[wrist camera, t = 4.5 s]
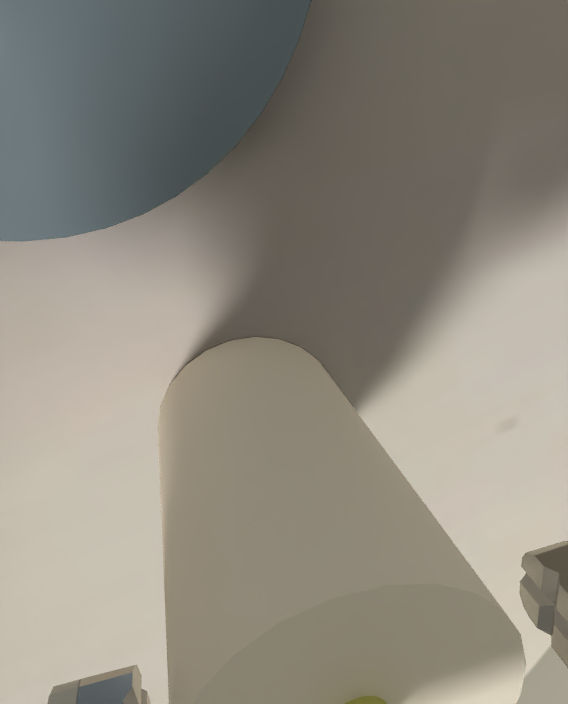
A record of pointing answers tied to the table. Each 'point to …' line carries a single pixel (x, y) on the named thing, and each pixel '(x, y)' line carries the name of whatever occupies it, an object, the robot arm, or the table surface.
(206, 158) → the candle dish
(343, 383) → the table surface
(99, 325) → the table surface
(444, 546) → the candle
